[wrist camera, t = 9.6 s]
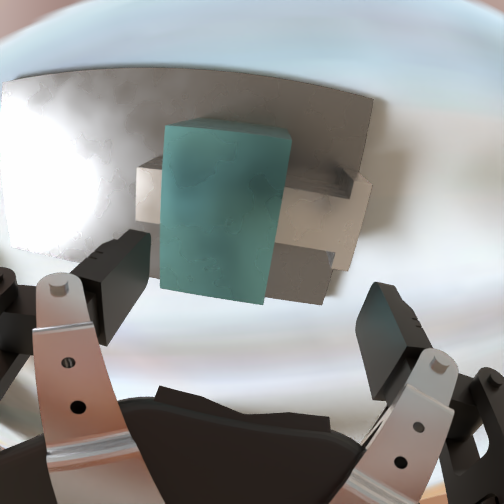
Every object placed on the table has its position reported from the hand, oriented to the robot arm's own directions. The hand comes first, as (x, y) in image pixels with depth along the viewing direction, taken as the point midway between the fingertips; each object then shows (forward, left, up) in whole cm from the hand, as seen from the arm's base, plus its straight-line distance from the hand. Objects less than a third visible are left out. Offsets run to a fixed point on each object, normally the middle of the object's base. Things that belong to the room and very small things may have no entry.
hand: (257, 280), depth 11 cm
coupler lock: (+2, 0, -9) cm, 9 cm away
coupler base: (+7, +4, -10) cm, 13 cm away
